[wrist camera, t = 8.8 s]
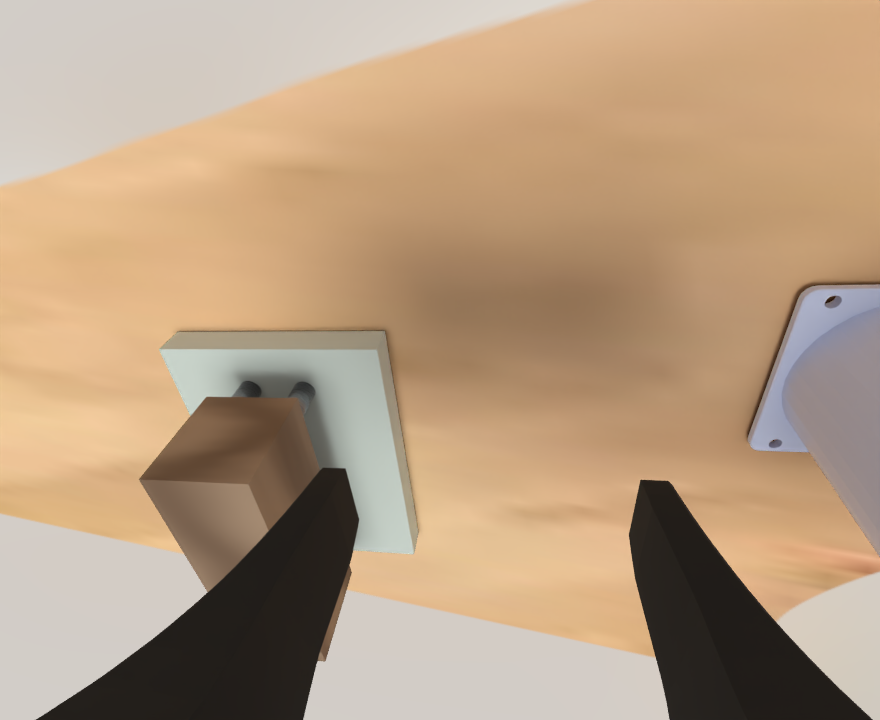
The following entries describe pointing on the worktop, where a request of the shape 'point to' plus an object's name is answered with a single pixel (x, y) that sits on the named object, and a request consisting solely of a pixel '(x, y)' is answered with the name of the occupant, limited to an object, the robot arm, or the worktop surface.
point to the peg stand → (318, 409)
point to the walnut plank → (233, 482)
